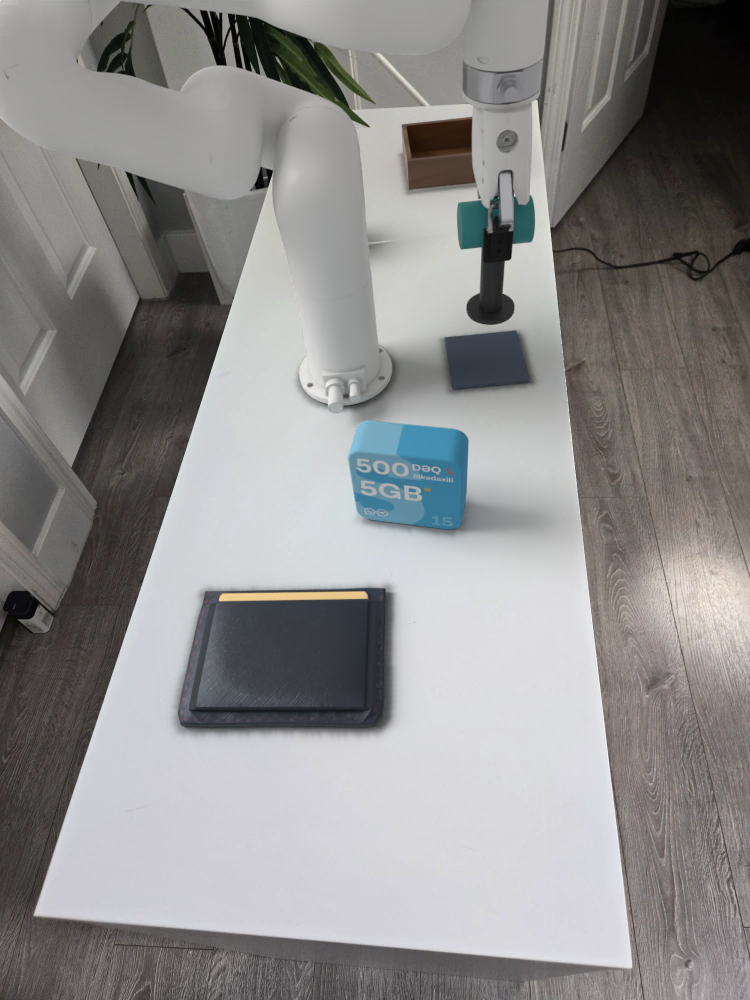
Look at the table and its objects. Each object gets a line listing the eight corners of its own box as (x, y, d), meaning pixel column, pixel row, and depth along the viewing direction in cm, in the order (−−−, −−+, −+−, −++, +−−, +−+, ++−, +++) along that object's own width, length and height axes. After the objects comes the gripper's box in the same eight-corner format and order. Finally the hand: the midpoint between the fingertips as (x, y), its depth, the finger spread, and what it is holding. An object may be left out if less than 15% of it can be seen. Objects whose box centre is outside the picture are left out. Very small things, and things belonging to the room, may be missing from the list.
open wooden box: (486, 184, 124) (487, 152, 119) (408, 192, 124) (407, 161, 120) (475, 146, 132) (476, 116, 128) (402, 154, 132) (401, 124, 128)
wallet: (169, 719, 67) (202, 580, 76) (175, 726, 68) (207, 589, 77) (381, 726, 65) (389, 582, 74) (382, 733, 66) (390, 591, 75)
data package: (357, 519, 81) (345, 449, 72) (365, 488, 84) (355, 417, 75) (461, 531, 79) (463, 462, 70) (466, 500, 82) (469, 428, 72)
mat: (529, 382, 93) (529, 379, 92) (453, 389, 93) (453, 386, 93) (516, 333, 99) (516, 330, 98) (444, 340, 99) (444, 337, 99)
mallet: (526, 321, 87) (537, 212, 76) (461, 328, 88) (463, 220, 76) (517, 292, 91) (527, 183, 80) (455, 298, 91) (456, 191, 80)
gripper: (560, 112, 63) (539, 286, 77) (525, 37, 73) (512, 203, 87) (475, 122, 63) (470, 293, 77) (452, 46, 73) (451, 210, 88)
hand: (492, 244), depth 82 cm, fingers closed on mallet, 5 cm apart
